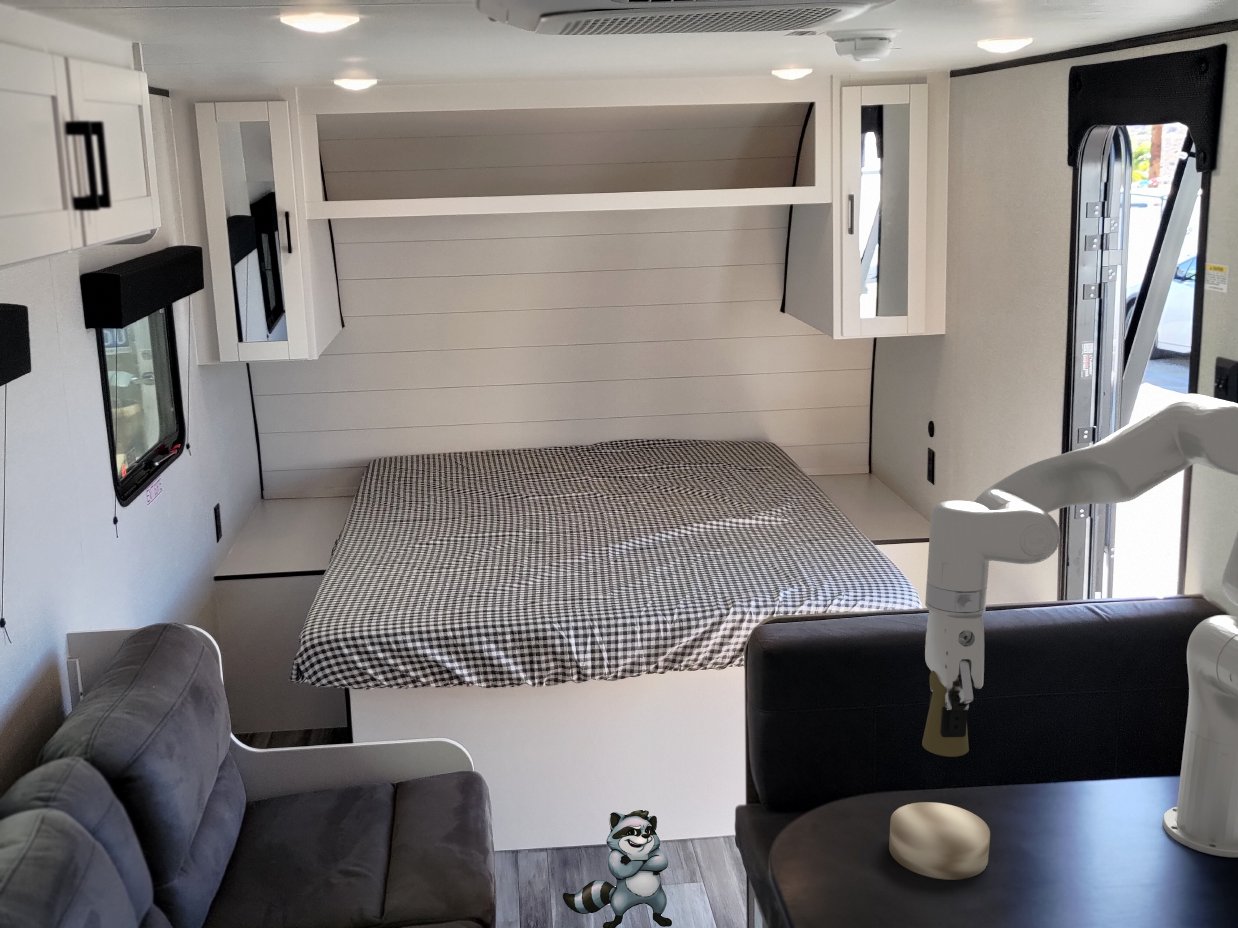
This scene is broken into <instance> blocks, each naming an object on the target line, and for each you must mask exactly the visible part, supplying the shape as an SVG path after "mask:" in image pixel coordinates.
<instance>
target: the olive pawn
mask: <svg viewBox="0 0 1238 928" xmlns="http://www.w3.org/2000/svg"><path fill="white" fill-rule="evenodd" d="M953 685H959V681H954V682H953ZM929 687H931V689H932V690H933V691H932V692H933V693H932V698H931V703H930V702H929V707H930V708H929V709H928V713H927V717H926V722H925V728H924V732H923V735H922V736H923V737H922V743H921V745H922V747H923V748H924V750H926V751H927V752H930V753H932V754H934V755H938V756H942V757H952V758H953V757H954V758H955V757H961V756H965V755H966V754H968V753H969V751H970V749H969V748H970V747H969V735H968V723H967V724H966V735H965V736H964V737H942V735H941V734H940V731H941V716H942V707H945V686H944V685H943V684H942V683H941V682H940V681H939V679H938V676H937V674H936V673H935V671H933V670H932V672H931V671H930V674H929ZM931 689H930V690H931ZM959 692H960V691H952V698H953V696H954V695H958V694H959Z"/></svg>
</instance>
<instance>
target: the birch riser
mask: <svg viewBox="0 0 1238 928" xmlns="http://www.w3.org/2000/svg"><path fill="white" fill-rule="evenodd" d="M889 823H890V824H889V825H890V826H889V838H888V839H889V841H888V843H889V844H888V851H889V853H890V855H891V857H892V859H894V860H895V861H896V862H897V863H898V864H899V865H900V866H902V867H903V868H905V869H906V870H909V871H911V872H913V873H916V874H918V875H921V876H925V877H928V878H933V879H937V880H938V879H939V880H954V881H955V880H965V879H969V878H972V877H975V876H977V875H979V874H981V873H982V872H984V871H985V869H986V868H987V867H986V866H988V863H989V854H990V843H991V842H990V840H991V830H990V827H989V826H988V824H987V823H986V821H984V820H983V819H982V818H981V817H979V816H978V815H977V814H974V813H973V812H971V811H969V810H966V809H964V808H962V807H959V806H955V805H952V804H947V803H942V802H927V801H925V802H924V801H922V802H921V801H920V802H913V803H910V804H909V803H908V804H906V805H903V806H899V807H898V808H897V809H896V810H895V811H893V813H892V814H891V816H890V822H889Z"/></svg>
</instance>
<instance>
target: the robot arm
mask: <svg viewBox="0 0 1238 928" xmlns="http://www.w3.org/2000/svg"><path fill="white" fill-rule="evenodd" d="M1195 464H1198V465H1201V466H1204V467H1207V468H1209V469H1212V470H1215V471H1216V470H1217V471H1219V472H1224V473H1226V474H1230V475H1234V476H1238V403H1237V402H1234V401H1229V400H1225V399H1220V398H1217V397H1212V396H1209V395H1204V394H1198V393H1184V394H1180V395H1176V396H1175V397H1173V398H1171V399H1168V400H1167V401H1165V402H1163V403H1161V404H1160V405H1158V406H1156V407H1154V408H1153V409H1152V410H1150V411H1148V412H1146V413H1144V414H1142V415H1141V416H1140V417H1138V418H1136V419H1134V420H1133V421H1131V422H1130V423H1128V424H1126V425H1125V426H1123V427H1121V428H1120V429H1118V430H1117V431H1115V432H1113V433H1110V434H1109V435H1108V436H1106V437H1104V438H1103V439H1101V440H1098V441H1097V442H1095V443H1093V444H1091V445H1088V446H1085V447H1082V448H1078V449H1074V450H1071V451H1067V452H1065V453H1061V454H1057V455H1056V456H1052V457H1049V458H1045V459H1043V460H1038V461H1036V462H1034V463H1031V464H1028V465H1026V466H1024V467H1022V468H1020V469H1018V470H1016V471H1015V472H1013V473H1010V474H1009V475H1007V476H1005V477H1004V478H1002V479H1001V480H999V481H998V482H996V483H994V484H993V485H991V486H989V487H988V488H986V489H985V490H984V491H983V492H982V493H980V494H979V495H978V496H977V497H976V498H975V500H974V501H969V500H959V499H958V500H957V499H956V500H955V499H954V500H945V501H941V502H938V503H937V504H935V505H934V507H933V508H932V510H931V513H930V524H929V525H930V526H929V538H928V539H929V540H928V541H929V542H928V554H927V555H928V557H927V572H926V584H925V585H926V587H925V601H924V602H925V603H924V604H925V607H926V608H927V609H928V616H927V624H926V630H925V642H924V643H925V644H924V648H925V649H924V650H925V651H924V657H925V658H924V659H925V663H926V666H927V667H928V668H929V670H930V673H931V672H932V670H933V671H935V673H936V674H937V676H938V679H939V681H940V682H941V683H942V684H943V685H944V686H945V707H942V716H941V731H940V734H941V735H942V737H964V736H965V735H966V724H967V725H968V711H969V708H970V707H969V706H970V703H971V702H973V701H974V692H973V687H974V688H975V689H977V690H980V689H982V687H983V686H984V677H985V676H984V673H985V629H984V619H983V618H984V617H983V614H984V613H986V604H987V592H988V581H989V579H988V578H989V566H990V565H989V563H990V562H991V561H993V562H1000V563H1007V564H1015V565H1032V564H1033V565H1035V564H1038V563H1041V562H1044V561H1046V560H1048V559H1049V558H1050V557H1051V556H1053V554H1054V553H1055V552H1056V551H1057V549H1058V547H1059V545H1060V542H1061V541H1060V540H1061V531H1060V527H1059V525H1058V523H1057V521H1056V520H1055V518H1054V517H1053V516H1052V515H1050V514H1049V513H1052V512H1054V511H1057V510H1060V509H1063V508H1067V507H1071V506H1078V505H1090V504H1091V505H1106V504H1109V505H1110V504H1111V505H1112V504H1119V503H1125V502H1126V503H1127V502H1130V501H1132V500H1135V499H1136V498H1139V497H1140V496H1141V495H1143V494H1145V493H1147V492H1148V491H1150V490H1152V489H1153V488H1154V487H1156V486H1158V485H1160V484H1161V483H1163V482H1165V481H1167V480H1168V479H1170V478H1172V477H1174V476H1175V475H1177V474H1178V473H1180V472H1182V471H1184V470H1186V469H1187V468H1190V467H1191V466H1192V465H1195ZM1221 586H1222V591H1223V593H1224V595H1225V597H1226V598H1227V599H1228V600H1229V601H1230V602H1231V603H1232V604H1234V605H1235V606H1237V607H1238V531H1237V533H1236V536H1235V538H1234V542H1233V544H1232V547H1231V551H1230V554H1229V556H1228V559H1227V563H1226V565H1225V568H1224V571H1223V576H1222V581H1221ZM1186 664H1187V674H1188V688H1189V689H1188V703H1187V704H1188V706H1187V717H1186V724H1185V733H1184V743H1183V751H1182V760H1181V766H1180V767H1181V769H1180V775H1179V785H1178V786H1179V787H1178V794H1177V802H1176V806H1173V807H1171V808H1168V810H1166V811H1165V812H1164V814H1163V817H1162V818H1163V819H1162V827H1163V828H1164V831H1165V832H1166V834H1168V835H1169V836H1170V837H1171V838H1172V839H1174V840H1175V841H1176V842H1179V843H1180V844H1182V845H1183V846H1186V847H1188V848H1189V849H1193V850H1195V851H1198V852H1201V853H1205V854H1206V855H1207V854H1208V855H1212V856H1217V857H1224V858H1238V616H1236V615H1235V616H1234V615H1229V614H1219V615H1218V614H1217V615H1213V616H1210V617H1207V618H1205V619H1203V620H1202V621H1201V622H1199V623H1198V624H1197V625H1196V627H1195V628H1194V629H1193V630H1192V632H1191V634H1190V636H1189V639H1188V641H1187V648H1186ZM954 681H959V685H953V682H954ZM929 687H930V686H929ZM930 691H931V692H930V695H929V704H930V703H931V698H932V693H933V690H932V689H931V687H930ZM952 691H960V692H959V694H958V695H954V696H953V698H952ZM929 708H930V706H929Z"/></svg>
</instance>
